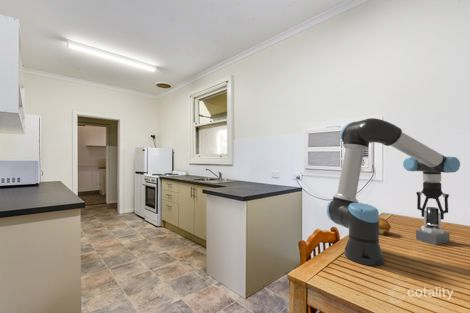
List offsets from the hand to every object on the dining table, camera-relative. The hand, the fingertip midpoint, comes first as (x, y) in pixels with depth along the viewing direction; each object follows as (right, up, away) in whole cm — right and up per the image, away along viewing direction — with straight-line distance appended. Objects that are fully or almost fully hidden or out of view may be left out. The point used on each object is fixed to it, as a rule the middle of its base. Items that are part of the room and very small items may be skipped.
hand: (432, 223), depth 120 cm
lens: (0, -1, 0) cm, 1 cm away
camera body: (0, -9, 0) cm, 9 cm away
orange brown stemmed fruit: (-20, -9, +12) cm, 26 cm away
